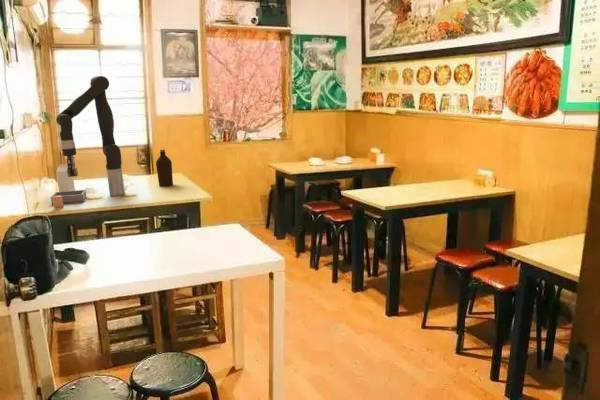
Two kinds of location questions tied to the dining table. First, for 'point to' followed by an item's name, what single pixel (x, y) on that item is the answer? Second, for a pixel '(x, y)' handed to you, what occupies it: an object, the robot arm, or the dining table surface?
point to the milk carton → (64, 179)
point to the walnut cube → (74, 172)
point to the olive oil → (164, 170)
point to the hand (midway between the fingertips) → (73, 174)
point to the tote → (71, 196)
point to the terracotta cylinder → (58, 201)
